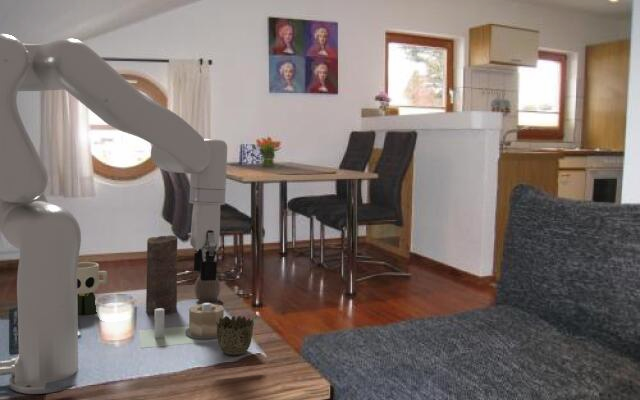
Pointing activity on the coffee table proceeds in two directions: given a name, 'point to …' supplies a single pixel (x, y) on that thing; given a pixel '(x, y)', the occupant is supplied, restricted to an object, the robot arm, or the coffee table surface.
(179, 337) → the hub board
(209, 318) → the collar
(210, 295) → the vase
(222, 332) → the fiber plant pot
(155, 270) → the brown log
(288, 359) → the coffee table surface
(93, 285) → the character mug
